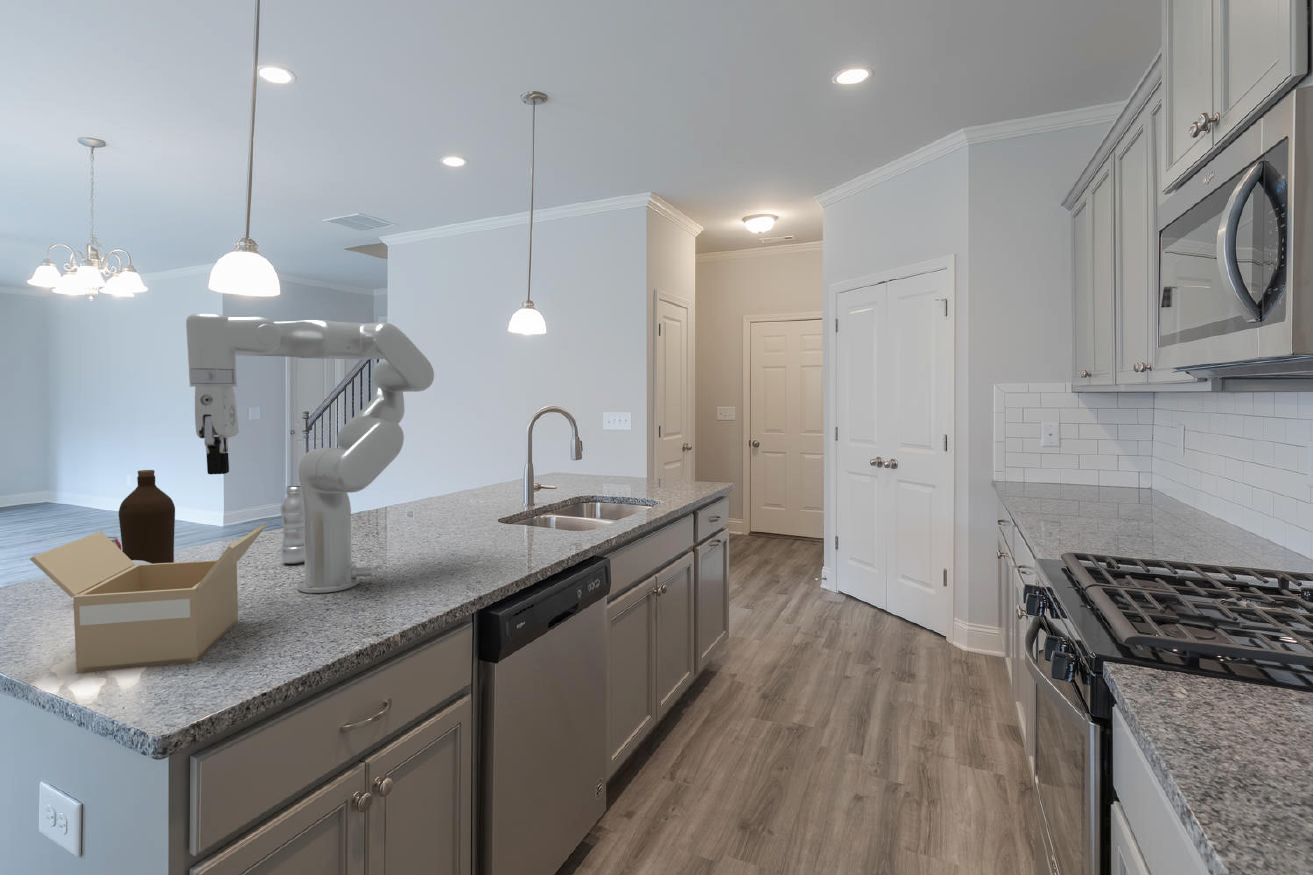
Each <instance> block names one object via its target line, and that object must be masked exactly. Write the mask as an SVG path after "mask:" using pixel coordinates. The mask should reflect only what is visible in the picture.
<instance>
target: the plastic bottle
mask: <svg viewBox="0 0 1313 875" xmlns="http://www.w3.org/2000/svg"><path fill="white" fill-rule="evenodd" d="M285 489H286V490H285V494H286V497H285V499H284V500H283V501H282V502H281V505H280V514H281V519H282V520H281V521H282V528H283V529H282V531H283V533H282V534H283V535H282V546H281V548H280V549H281V550H280V558H281V561H282V562H283V563H285V564H288V565H289V564H290V565H291V564H293V565H297V564H301V563H305V550H304V503H303V494H302V489H301V485H288V486H286V487H285Z"/></svg>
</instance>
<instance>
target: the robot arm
mask: <svg viewBox="0 0 1313 875" xmlns="http://www.w3.org/2000/svg"><path fill="white" fill-rule="evenodd" d="M185 324H186V326H185V327H186V340H187V342H186V344H187V360H188V377H189V387H192V388H193V387H195V389H194V421H195V422H194V423H195V424H194V425H195V432H196V436H197V437H198V438H199V439H204V442H203V443H204V445H205V453H206V469H207V470H206V472H207V474H208V475H226V474H228V473H229V472H230V463H229V462H230V461H229V438H231V437H235V436H237V435H238V434H239V430H240V429H239V420H238V410H237V402H236V401H237V400H236V395H235V390H234V387H238V383H237V382H238V381H237V380H238V378H237V362H236V361H237V359H236V356H242V357H243V356H246V357H247V356H249V357H250V356H253V357H256V356H257V357H283V358H284V357H288V358H298V359H299V358H300V359H322V360H323V359H326V360H327V359H331V360H335V359H336V360H337V359H338V360H379V361H378V362H377V363H376V364H375V366H374V368H373V370H372V376H371V377H372V386H373V392H372V397H371V399H370V401H368V403H367V404H366V405H365V406H364V407H363V408H362V409H360V410H359V411H358V412H357V413H356V414H355V415H354V416H353V417H351V419H350V420H349V421H348V422H346V423H345V424H344V425H343V426H342V427H341V428H340V429H339V431H338V434H337V437H336V442H337V446H338V447H326V446H325V447H317V448H314V449H311V450H310V451H307V452H306V453H305V454H304V455H303V456H302V458H301V460H300V461H299V464H298V471H297V472H298V480H299V484H300V485H299V486H301V489H302V496H303V503H304V550H305V562H304V578H303V579H301V580H300V581H299V582H298V583H297V584H296V587H297V590H298V591H300V592H302V593H306V594H307V593H309V594H325V593H326V594H327V593H333V592H339V591H344V590H347V589H350V588H353V587H355V586H358V584H360V577H373V568H372V567H369V566H362V567H361V566H360V567H358V566H356V565H355V564H356V563H355V561H352V560H353V559H352V558H353V557H352V506H351V501H350V497H349V493H358V492H360V491H362V490H364V489H366V488H367V487H368V486H370V485H371V484H372V483H373V482H374V481H375V480H376V479H377V478H378V477H379V475H380V474H382V473H383V471H385V470H386V468H387V467H388V466H389V465H390V464H391V463H392V462H393V461H394V460H395V459H396V458H397V457H398V456H399V454H400V452H401V450H402V448H403V446H404V441H405V435H404V431H403V429H402V427H401V425H400V423H401V421H402V420H403V418H404V415H405V398H404V392H409V393H411V392H412V393H413V392H416V393H417V392H423V391H425V390H427V389H428V388H430V387H431V386H432V384H433V382H434V380H435V371H434V368H433V365H432V363H431V362H430V360H429V359H428V358H427V357H426V355H425V354H423V352H422V350H420V349H419V348H418V347H417V346H416V345H415V343H414V342H413V341H412V340H411V339H410V338H409V337H408V336H407V335H406V334H405V333H404V332H402V330H401V329H400V328H398V327H397V326H395V325H394V324H392V323H390V322H385V321H384V322H368V323H366V322H365V323H363V322H362V323H361V322H360V323H359V322H349V321H348V322H346V321H334V320H324V319H304V320H303V319H302V320H294V321H274V320H271V319H269V318H267V317H264V316H228V315H223V314H217V313H216V314H215V313H192V314H190V315H189V316H187V318H186V323H185Z"/></svg>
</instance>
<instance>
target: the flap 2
mask: <svg viewBox="0 0 1313 875" xmlns="http://www.w3.org/2000/svg"><path fill="white" fill-rule="evenodd" d="M266 527H267V525H266V524H262V525H260V526H258V527H257V528H255V529H253V530H252V531H251V532H249V533H248V534H246V535H244V536H243V537H241V538H240V539H237V541H235V542H233V543H231V544H230V545H229V546H228V547H227V548H226V549H225V550H224V552H223V553H222V554H221V555H220V557H218V559H217V562H216V563H215V564H214V565H213V567H212V568H211V569H210V570H209V572H208V573H207V574H206V575H205V577H204V578H203V579H202V580H201V582H200V583H199V584H198V585H197V587H196V588H198V589H201V588H202V587H203V586H205V585H206V584H207V583H209V582H210V581H211V580H213V579H214V578H216V577H217V576H218V575H220V574H221V573H222V572H224V571H225V570H226V569H228V568H229V567H231V566H232V565H233V564H235V563H236V562H237V563H238V562H239V561H240V559H242V557H243V556H244V555H245V553H246V552H247V551H249V549H250V547H251V546H252V545H253V543H254V542H255V540H257V538H258V537H259V536H260V535H261V533H262V532H263V531H264V530H265V528H266Z"/></svg>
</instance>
